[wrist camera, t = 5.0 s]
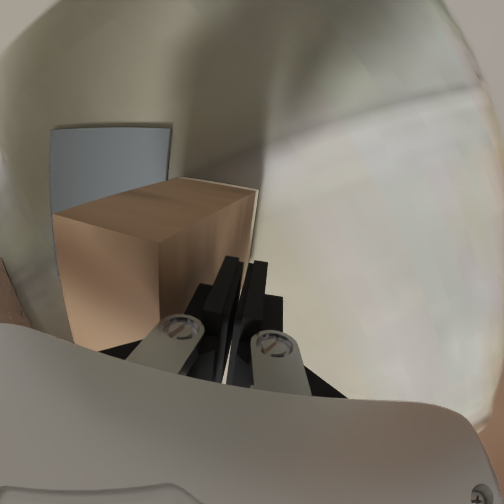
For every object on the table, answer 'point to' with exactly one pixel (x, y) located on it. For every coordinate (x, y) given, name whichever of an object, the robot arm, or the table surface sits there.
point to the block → (147, 254)
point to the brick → (10, 302)
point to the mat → (104, 163)
